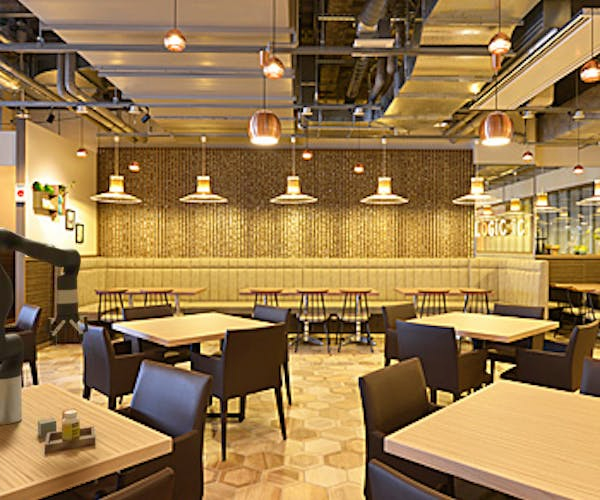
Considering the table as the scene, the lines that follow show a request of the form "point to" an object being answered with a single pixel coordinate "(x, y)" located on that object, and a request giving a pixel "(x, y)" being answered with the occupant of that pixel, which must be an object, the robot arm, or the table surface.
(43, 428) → the blue-grey cube
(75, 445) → the walnut tray
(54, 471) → the table surface
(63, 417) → the terracotta cylinder
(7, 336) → the robot arm
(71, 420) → the supplement bottle
